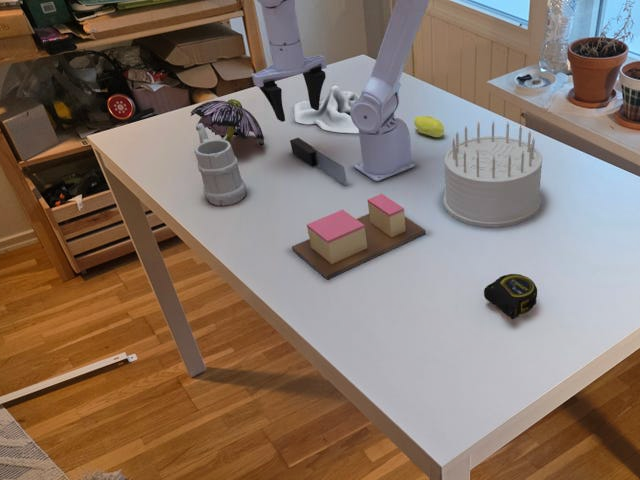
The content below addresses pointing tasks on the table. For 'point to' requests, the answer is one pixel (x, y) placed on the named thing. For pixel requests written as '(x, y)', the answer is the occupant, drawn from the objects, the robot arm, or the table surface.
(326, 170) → the knife
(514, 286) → the tape measure
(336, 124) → the cloth
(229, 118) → the decorative flower
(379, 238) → the board
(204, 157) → the mug
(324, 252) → the cake
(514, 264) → the table surface
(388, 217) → the cake slice
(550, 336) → the table surface
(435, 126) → the lemon
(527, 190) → the cake
